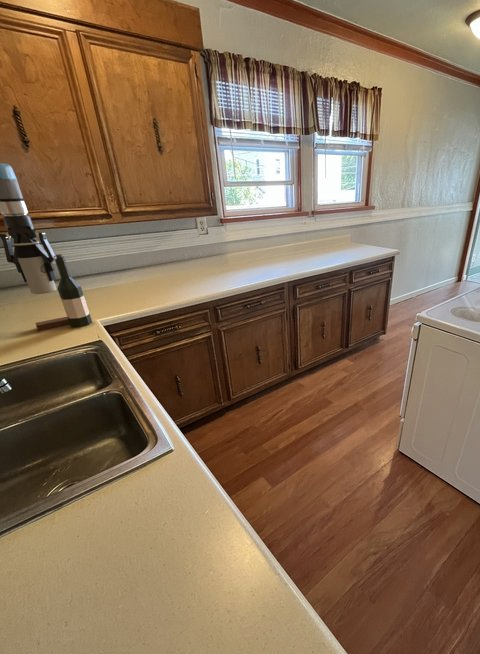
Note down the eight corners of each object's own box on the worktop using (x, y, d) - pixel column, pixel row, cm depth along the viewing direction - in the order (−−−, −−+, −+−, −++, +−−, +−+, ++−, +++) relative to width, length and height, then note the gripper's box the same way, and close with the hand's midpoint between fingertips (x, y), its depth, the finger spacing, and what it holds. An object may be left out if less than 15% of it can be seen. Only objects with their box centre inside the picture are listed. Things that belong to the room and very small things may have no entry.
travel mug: (26, 293, 122) (6, 243, 114) (47, 288, 129) (29, 240, 120) (41, 295, 119) (22, 244, 111) (61, 289, 126) (45, 241, 118)
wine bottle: (96, 321, 147) (75, 253, 133) (81, 328, 140) (56, 257, 126) (82, 319, 149) (59, 252, 135) (65, 326, 142) (40, 256, 128)
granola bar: (38, 330, 138) (36, 325, 137) (37, 327, 141) (35, 322, 140) (71, 323, 144) (69, 318, 143) (69, 321, 148) (67, 316, 146)
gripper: (54, 213, 117) (74, 276, 127) (-11, 215, 114) (15, 279, 124) (43, 215, 110) (65, 281, 120) (-27, 216, 107) (3, 284, 117)
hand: (40, 280), depth 122 cm, fingers closed on travel mug, 8 cm apart
